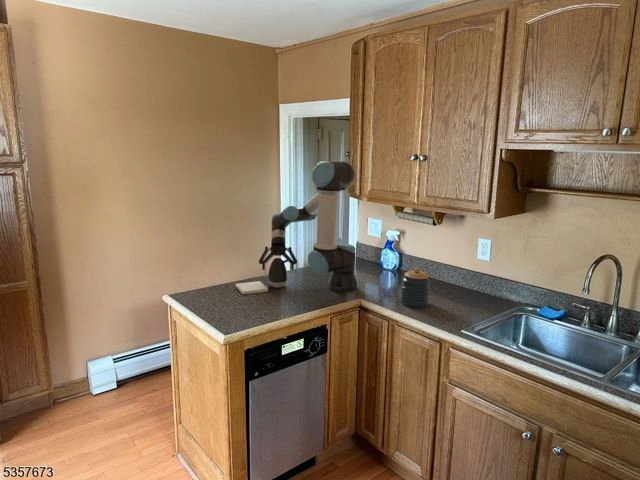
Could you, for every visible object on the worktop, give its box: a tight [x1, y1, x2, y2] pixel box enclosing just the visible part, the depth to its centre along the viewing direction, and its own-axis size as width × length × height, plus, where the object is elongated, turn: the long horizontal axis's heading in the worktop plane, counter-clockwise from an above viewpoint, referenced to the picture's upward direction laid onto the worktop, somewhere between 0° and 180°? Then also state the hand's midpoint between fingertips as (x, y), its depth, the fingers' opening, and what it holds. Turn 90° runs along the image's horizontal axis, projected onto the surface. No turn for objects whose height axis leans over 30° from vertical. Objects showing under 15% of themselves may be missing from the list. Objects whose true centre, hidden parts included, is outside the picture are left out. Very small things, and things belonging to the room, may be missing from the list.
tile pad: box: [235, 280, 269, 295], centre depth 223 cm, size 13×13×2 cm
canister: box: [400, 267, 431, 309], centre depth 209 cm, size 13×13×18 cm
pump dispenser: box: [267, 257, 289, 289], centre depth 228 cm, size 10×10×15 cm
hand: (277, 275), depth 225 cm, fingers open, 12 cm apart
